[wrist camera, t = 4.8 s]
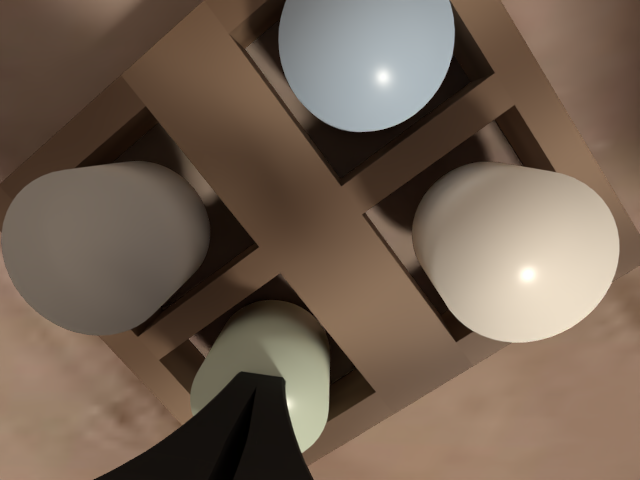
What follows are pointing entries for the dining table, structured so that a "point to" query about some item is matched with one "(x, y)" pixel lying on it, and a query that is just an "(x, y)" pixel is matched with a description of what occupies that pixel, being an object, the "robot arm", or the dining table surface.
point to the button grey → (104, 243)
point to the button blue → (365, 58)
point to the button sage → (273, 361)
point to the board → (316, 200)
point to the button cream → (516, 249)
